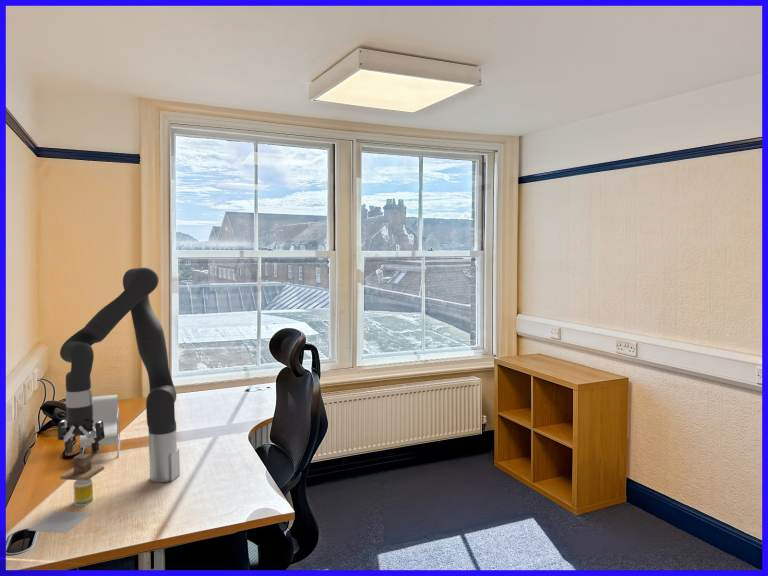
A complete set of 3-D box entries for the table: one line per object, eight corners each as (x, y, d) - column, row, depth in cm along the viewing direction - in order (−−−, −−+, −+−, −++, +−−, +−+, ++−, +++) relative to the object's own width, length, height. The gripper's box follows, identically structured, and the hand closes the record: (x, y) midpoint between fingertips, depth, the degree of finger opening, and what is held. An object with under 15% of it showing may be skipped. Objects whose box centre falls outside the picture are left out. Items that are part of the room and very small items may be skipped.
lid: (104, 469, 191) (103, 451, 191) (87, 480, 183) (86, 461, 182) (78, 468, 192) (77, 450, 192) (60, 479, 184) (59, 460, 183)
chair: (120, 438, 249) (118, 393, 247) (118, 458, 226) (116, 409, 224) (85, 442, 244) (83, 396, 242) (79, 463, 221) (77, 413, 219)
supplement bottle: (71, 503, 188) (70, 474, 187) (89, 497, 192) (88, 469, 191) (78, 508, 184) (76, 479, 184) (95, 502, 188) (94, 474, 188)
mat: (91, 514, 181) (91, 513, 181) (66, 533, 169) (65, 532, 169) (54, 512, 182) (54, 511, 182) (27, 531, 170) (27, 530, 170)
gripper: (107, 400, 188) (110, 449, 190) (65, 399, 190) (68, 448, 191) (93, 407, 181) (96, 458, 182) (50, 406, 182) (53, 456, 184)
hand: (82, 453), depth 187 cm, fingers open, 8 cm apart
